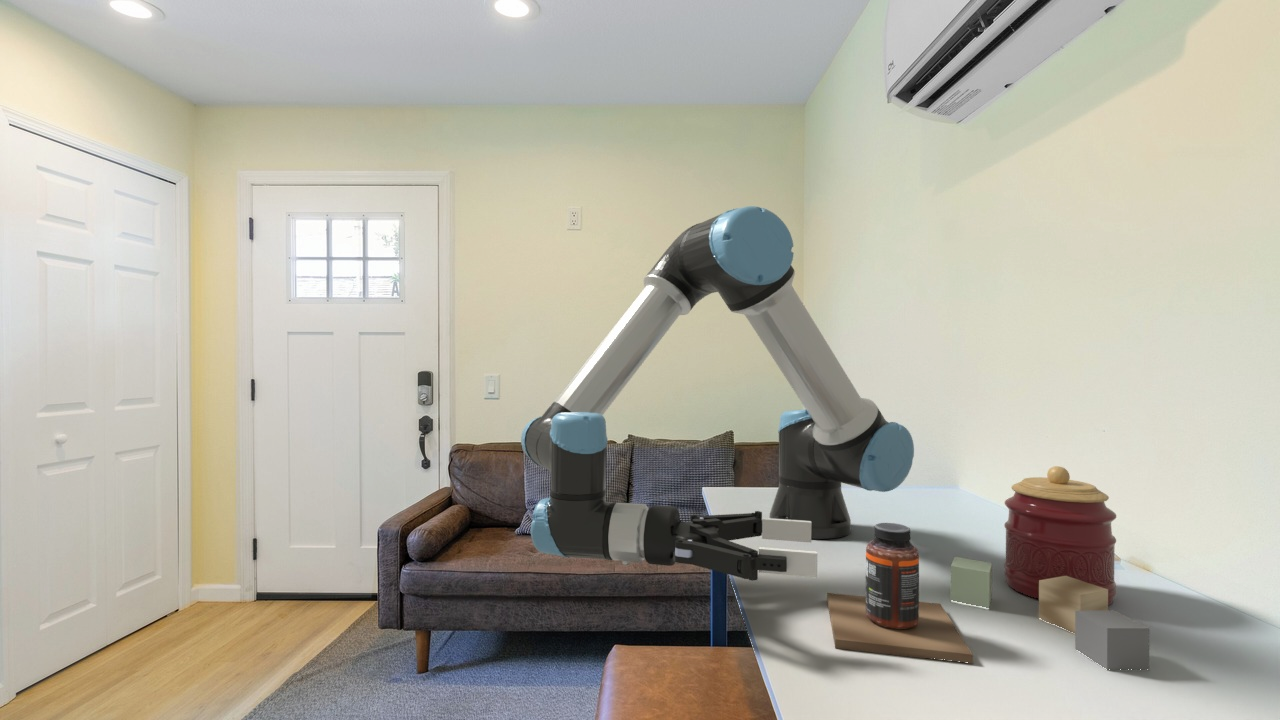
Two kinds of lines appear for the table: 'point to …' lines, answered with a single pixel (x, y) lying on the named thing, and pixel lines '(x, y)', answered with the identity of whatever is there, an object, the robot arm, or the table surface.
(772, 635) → the table surface
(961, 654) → the plate
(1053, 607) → the beech block
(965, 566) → the sage block
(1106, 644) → the grey block
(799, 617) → the table surface
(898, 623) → the supplement bottle
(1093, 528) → the canister
